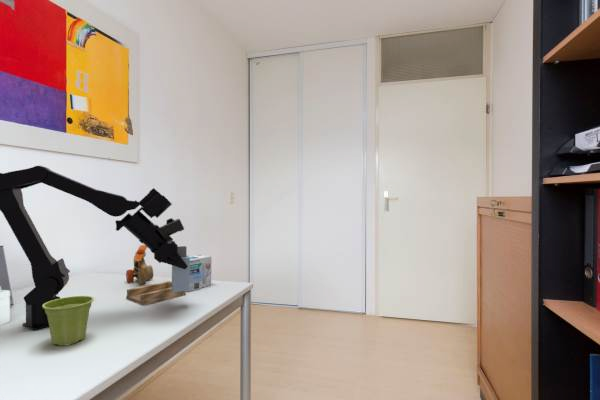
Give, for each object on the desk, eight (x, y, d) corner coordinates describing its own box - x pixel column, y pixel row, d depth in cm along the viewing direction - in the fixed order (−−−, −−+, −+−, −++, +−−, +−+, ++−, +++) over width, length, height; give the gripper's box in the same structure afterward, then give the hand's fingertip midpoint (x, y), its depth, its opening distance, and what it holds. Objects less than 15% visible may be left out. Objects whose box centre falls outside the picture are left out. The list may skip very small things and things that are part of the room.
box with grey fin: (172, 292, 95) (173, 248, 95) (171, 288, 99) (172, 246, 99) (189, 290, 97) (189, 247, 97) (187, 286, 101) (188, 245, 101)
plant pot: (44, 337, 76) (44, 299, 76) (93, 329, 81) (93, 293, 81) (40, 353, 68) (40, 311, 68) (94, 342, 73) (94, 303, 73)
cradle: (143, 305, 99) (143, 295, 99) (126, 298, 106) (126, 289, 106) (185, 294, 110) (185, 285, 110) (167, 289, 117) (167, 280, 117)
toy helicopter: (147, 277, 134) (147, 243, 134) (163, 288, 118) (163, 249, 118) (125, 281, 129) (125, 245, 129) (138, 292, 113) (138, 251, 113)
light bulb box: (188, 292, 113) (188, 260, 113) (175, 289, 117) (175, 258, 117) (212, 285, 122) (212, 255, 122) (199, 282, 126) (199, 254, 126)
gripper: (168, 210, 88) (211, 250, 93) (164, 208, 105) (200, 242, 110) (134, 242, 85) (180, 281, 89) (136, 234, 102) (175, 268, 106)
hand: (185, 266), depth 99 cm, fingers closed on box with grey fin, 4 cm apart
